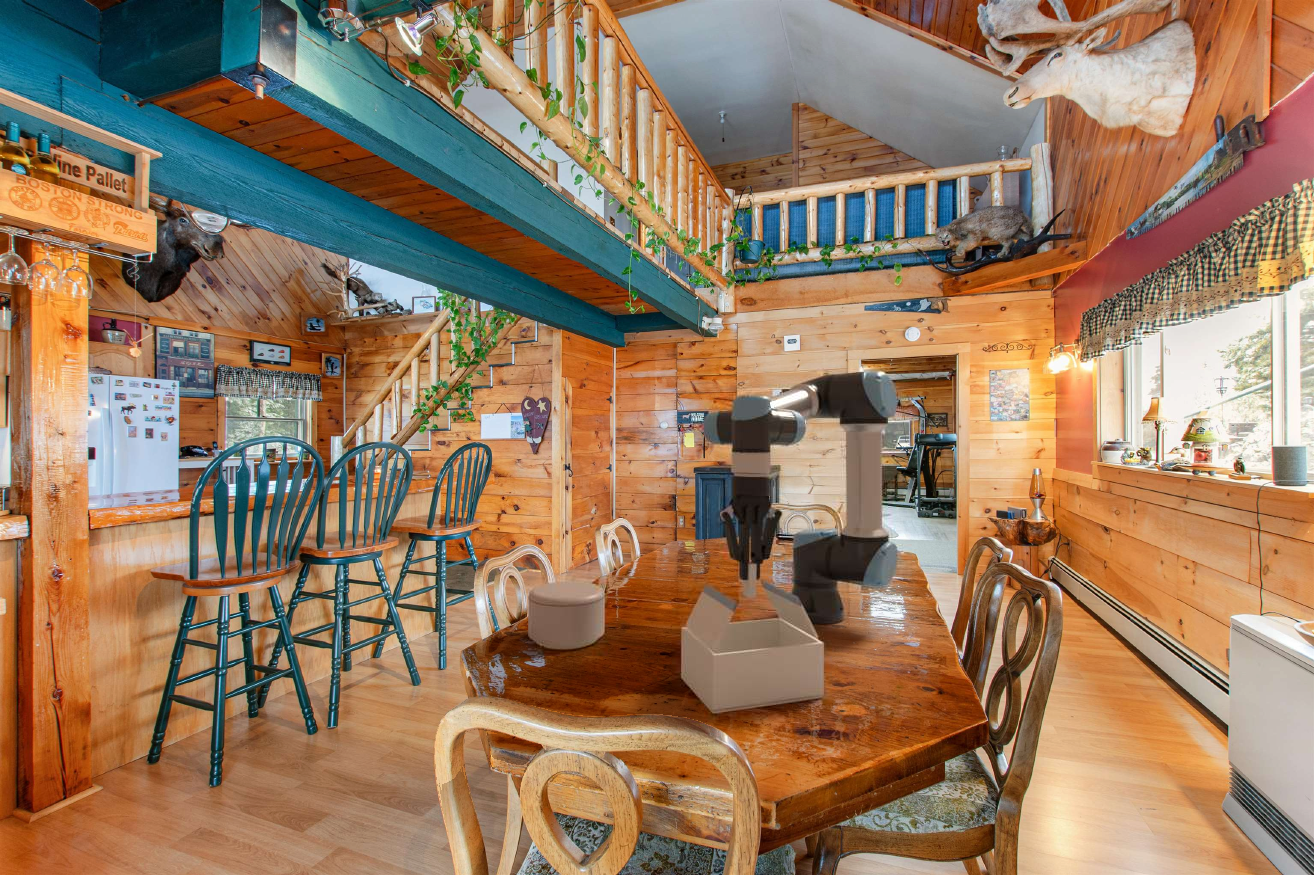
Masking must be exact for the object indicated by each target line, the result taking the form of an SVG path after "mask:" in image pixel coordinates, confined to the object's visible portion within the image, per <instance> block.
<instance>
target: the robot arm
mask: <svg viewBox="0 0 1314 875" xmlns="http://www.w3.org/2000/svg"><path fill="white" fill-rule="evenodd" d="M897 395H898V393H897V390H896V387H895V384H894V382H893V380H892V378H891V377H890V376H889V374H887V373H886V372H884V371H880V370H876V371H875V370H874V371H872V370H866V371H865V370H864V371H855V372H844V373H836V374H835V373H834V374H832V373H831V374H825V375H821V376H819V377H815V378H812V379H809V380H806V381H804V382H801V383H798V384H795V385H793V386H791V387H790V388H789V389H788V391H786V392H783V393H780V394H777V395H773V396H770V397H769V396H766V395H752V394H751V395H739V396H738V395H737V396H736V397H735V398H734V399H733V400H732V409H728V410H721V409H720V410H717V411H711V412H709V413H708V414H707V415H706V416H705V417H704V420H703V424H702V430H703V435H704V438H705V439H706V441H707V442H709V443H710V444H713V445H721V446H724V445H731V446H732V448H731V470H730V471H731V473H732V474H734V475H732V477H731V479H730V480H731V481H730V483H731V484H730V485H731V486H730V493H731V495H730V496H731V499H730V500H729V504H728V507H726V508H725V509H723V510H719V511H718V517H719V518H720V521H721V522H722V524H723V525H722V526H723V529H724V534H725V539H726V544H727V548H728V553H729V557H730V559H732V560H734V561H737V562H738V563H739V564H738V565H739V570H738V571H739V572H738V573H739V574H738V577H739V579H740V580H741V581H742V595H743V596H744V597H746V598H747V599H756V598H757V580H760V578H761V565H762V564H763V563H764V561H765V560H769V559H770V557H771V554H772V549H773V548H772V547H773V544H774V539H775V535H776V529H777V526H778V523H779V520H780V519H781V517H782V516H783V512H782V511H781V510H780V509H779V510H778V509H776V508H775V507H774V506H772V501H771V500H770V495H771V478H770V476H768V474H770V473H771V446H785V447H787V446H790V445H791V446H793V445H795V444H798V443H799V442H801V441H802V439H803V438H804V436H805V435H806V430H807V424H806V421H808V420H810V419H839V426H840V427H841V429H843V430H844V431H845V456H846V457H845V465H846V466H845V474H846V475H845V480H846V482H845V483H846V484H845V485H846V486H845V491H846V492H845V494H846V495H845V496H846V497H845V499H846V500H845V501H846V506H845V508H846V510H845V511H846V514H845V516H846V517H845V518H846V524H845V526H844V527H843V528H842V529H841V530H840V532H838V530H837V529H834V528H822V529H820V528H817V529H806V530H801V531H797V532H795V533H794V536H793V544H792V557H793V558H792V563H793V564H792V569H793V570H792V574H793V575H792V578H793V579H792V581H793V582H792V588H791V590H790V593H791V594H793V595H795V596H797V597H799V599H800V601H801V603H802V605H803V607H804V609H805V611H806V613H807V615H808V617H809V619H810V621H811V623H812V624H835V623H839V622H842V621H843V620H844V619H845V607H844V604H843V601H842V598H841V594H840V592H839V589H838V588H839V587H838V582H841V583H846V584H852V585H857V586H862V587H866V588H875V589H876V588H877V589H882V588H886V587H887V585H889V584H890V583H891V581H892V580H893V579H894V575H895V574H896V571H897V566H898V563H899V551H898V547H897V544H895V543H894V542H892V541H889V537H890V536H889V535H890V534H889V532H888V530H886V529H885V528H884V527H883V446H882V444H883V441H882V436H883V434H882V433H883V430H884V429H886V428H887V426H889V418H893V417H894V416H895V415H896V413H897V408H898V396H897ZM734 516H735V518H736V520H737V527H738V537H737V532H736V528H735V523H734V520H733V518H734ZM764 518H766V520H765V523H764ZM763 528H764V529H763ZM762 532H763V533H762Z"/></svg>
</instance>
